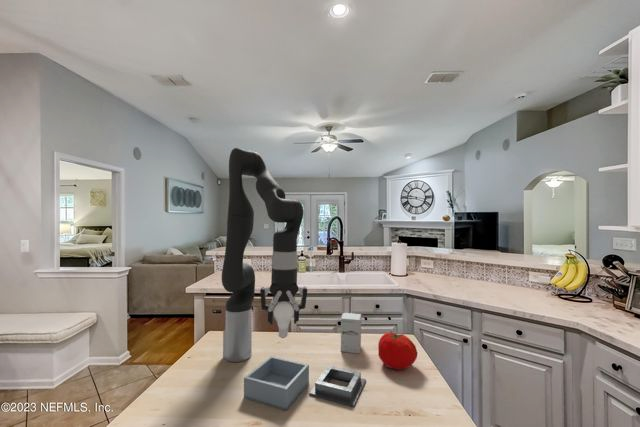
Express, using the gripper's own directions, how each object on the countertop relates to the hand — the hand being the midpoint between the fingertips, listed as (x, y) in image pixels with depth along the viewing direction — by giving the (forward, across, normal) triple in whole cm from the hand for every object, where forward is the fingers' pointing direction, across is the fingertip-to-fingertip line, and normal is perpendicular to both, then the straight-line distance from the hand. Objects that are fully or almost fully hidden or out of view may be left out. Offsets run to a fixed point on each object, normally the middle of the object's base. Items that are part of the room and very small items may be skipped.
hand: (283, 323), depth 82 cm
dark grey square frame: (+19, -17, +2) cm, 25 cm away
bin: (+19, +1, 0) cm, 19 cm away
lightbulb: (+4, 0, 0) cm, 4 cm away
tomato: (+19, -39, -8) cm, 44 cm away
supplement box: (+19, -26, -23) cm, 40 cm away
